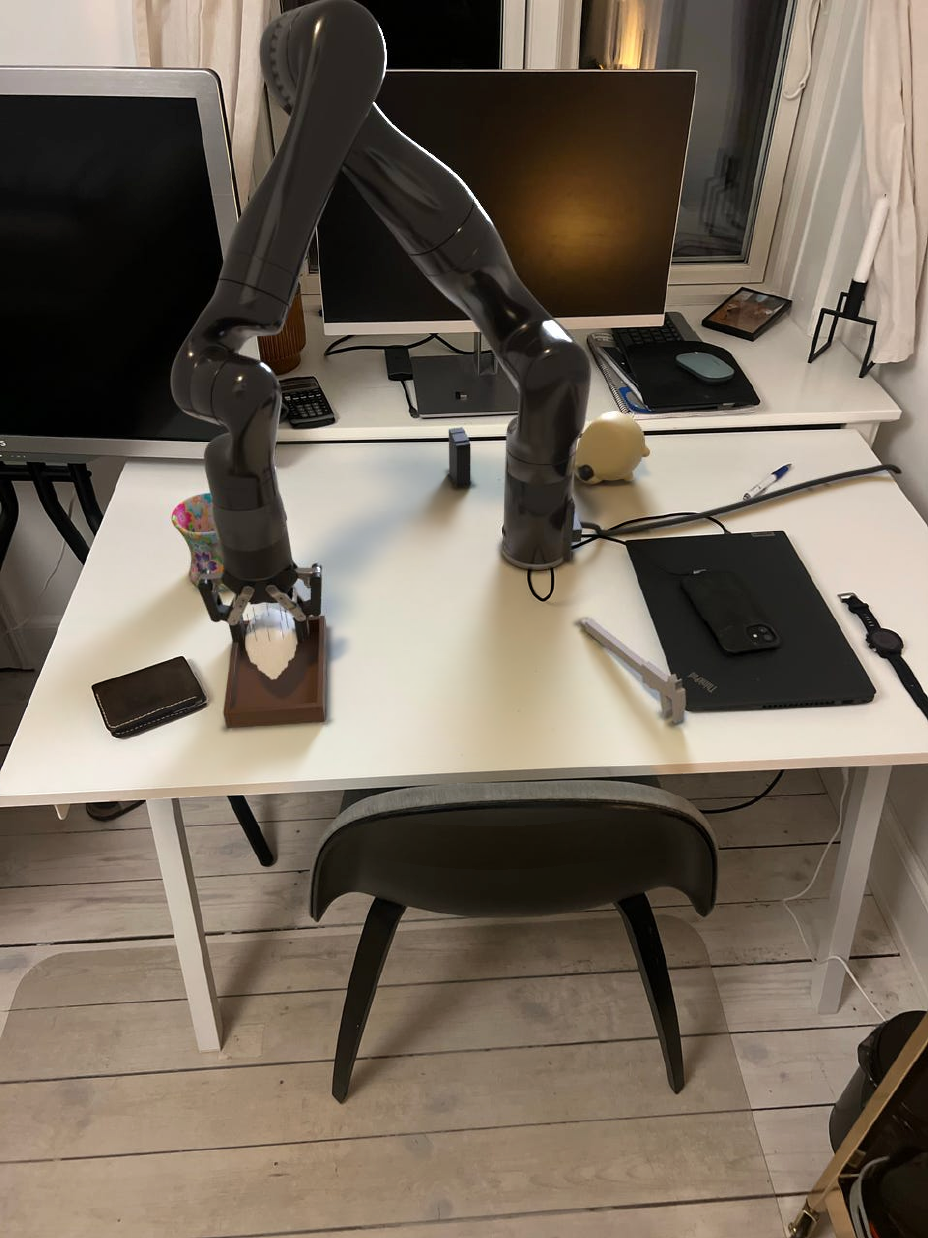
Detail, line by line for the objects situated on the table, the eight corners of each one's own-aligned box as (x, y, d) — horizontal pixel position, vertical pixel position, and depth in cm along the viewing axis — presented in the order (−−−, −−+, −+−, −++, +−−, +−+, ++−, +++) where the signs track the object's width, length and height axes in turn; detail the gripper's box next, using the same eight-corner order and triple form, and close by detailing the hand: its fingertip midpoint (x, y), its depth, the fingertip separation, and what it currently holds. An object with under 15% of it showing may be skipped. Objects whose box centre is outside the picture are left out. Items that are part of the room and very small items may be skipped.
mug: (253, 594, 130) (240, 531, 123) (183, 598, 129) (166, 535, 122) (258, 540, 139) (247, 478, 132) (193, 544, 138) (178, 482, 131)
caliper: (682, 724, 112) (690, 686, 108) (674, 727, 112) (682, 689, 108) (585, 620, 126) (589, 584, 122) (578, 623, 125) (582, 586, 121)
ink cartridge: (471, 486, 149) (471, 442, 143) (456, 489, 148) (456, 444, 143) (463, 469, 152) (463, 425, 147) (449, 471, 152) (448, 427, 147)
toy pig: (597, 477, 157) (551, 441, 152) (652, 427, 152) (606, 387, 147) (608, 511, 150) (560, 473, 145) (666, 459, 144) (619, 418, 139)
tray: (326, 630, 125) (324, 615, 123) (325, 721, 113) (322, 706, 111) (238, 635, 124) (234, 620, 122) (226, 728, 112) (223, 713, 110)
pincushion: (246, 615, 119) (239, 580, 115) (296, 610, 120) (291, 574, 116) (247, 684, 110) (239, 648, 106) (301, 678, 111) (295, 642, 107)
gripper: (178, 552, 100) (207, 666, 111) (317, 544, 101) (332, 658, 112) (187, 510, 106) (214, 622, 117) (319, 503, 106) (333, 615, 118)
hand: (272, 639), depth 114 cm, fingers closed on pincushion, 6 cm apart
